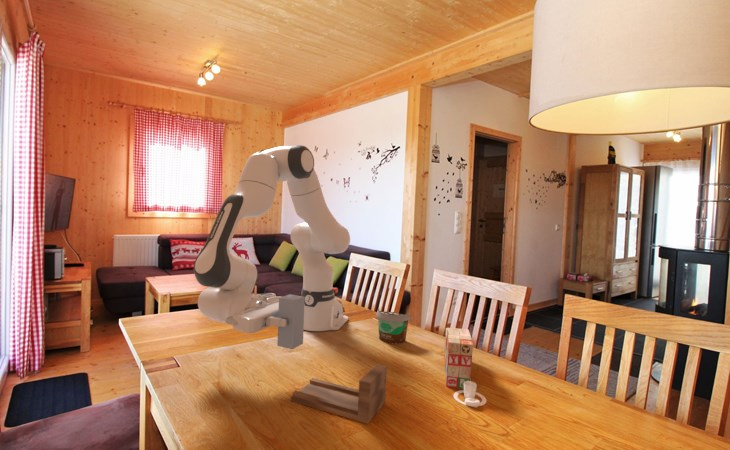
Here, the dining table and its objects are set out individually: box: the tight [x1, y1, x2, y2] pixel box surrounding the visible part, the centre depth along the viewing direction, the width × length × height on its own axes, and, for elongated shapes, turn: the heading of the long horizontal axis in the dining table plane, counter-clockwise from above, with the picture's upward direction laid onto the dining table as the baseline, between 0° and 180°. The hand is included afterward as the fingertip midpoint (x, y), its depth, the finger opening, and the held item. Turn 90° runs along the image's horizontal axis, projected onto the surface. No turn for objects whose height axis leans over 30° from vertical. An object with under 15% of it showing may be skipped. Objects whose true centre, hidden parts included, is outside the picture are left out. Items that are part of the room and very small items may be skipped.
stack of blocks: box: [444, 327, 474, 390], centre depth 114 cm, size 21×6×12 cm, turn 170°
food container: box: [375, 308, 412, 345], centre depth 137 cm, size 12×6×10 cm, turn 68°
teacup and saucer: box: [453, 381, 487, 408], centre depth 99 cm, size 9×8×4 cm
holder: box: [290, 363, 388, 425], centre depth 94 cm, size 10×20×9 cm, turn 66°
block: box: [277, 293, 305, 350], centre depth 99 cm, size 4×4×12 cm
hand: (294, 319), depth 98 cm, fingers closed on block, 4 cm apart
